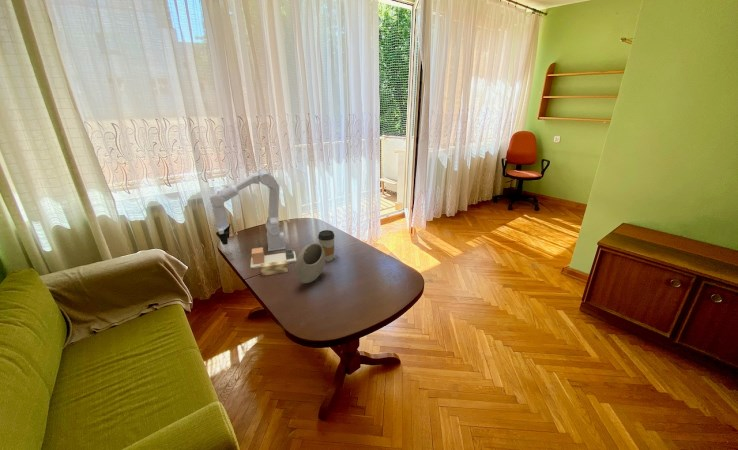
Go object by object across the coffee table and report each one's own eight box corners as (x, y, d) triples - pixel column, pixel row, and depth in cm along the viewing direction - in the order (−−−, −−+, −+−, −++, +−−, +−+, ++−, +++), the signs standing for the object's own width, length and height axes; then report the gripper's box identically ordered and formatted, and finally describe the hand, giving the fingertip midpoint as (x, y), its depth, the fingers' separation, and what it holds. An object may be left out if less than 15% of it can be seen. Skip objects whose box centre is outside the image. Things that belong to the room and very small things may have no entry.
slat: (287, 268, 148) (286, 260, 146) (287, 272, 145) (286, 263, 143) (262, 273, 144) (260, 264, 142) (262, 276, 142) (260, 267, 140)
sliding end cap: (264, 257, 156) (262, 247, 153) (264, 262, 151) (262, 252, 148) (253, 259, 154) (252, 248, 152) (253, 264, 149) (251, 253, 147)
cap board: (294, 252, 162) (294, 246, 161) (296, 261, 154) (295, 255, 152) (251, 259, 156) (250, 252, 155) (250, 268, 147) (249, 262, 146)
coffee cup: (338, 256, 158) (337, 231, 152) (330, 264, 151) (328, 237, 146) (325, 253, 162) (323, 228, 156) (316, 260, 155) (314, 234, 149)
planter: (304, 293, 129) (300, 255, 122) (292, 288, 132) (287, 251, 125) (330, 273, 143) (328, 238, 136) (319, 269, 147) (317, 235, 139)
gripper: (214, 212, 154) (219, 236, 159) (209, 223, 141) (215, 248, 147) (229, 211, 156) (233, 234, 161) (225, 221, 143) (231, 246, 149)
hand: (226, 241), depth 154 cm, fingers open, 7 cm apart
